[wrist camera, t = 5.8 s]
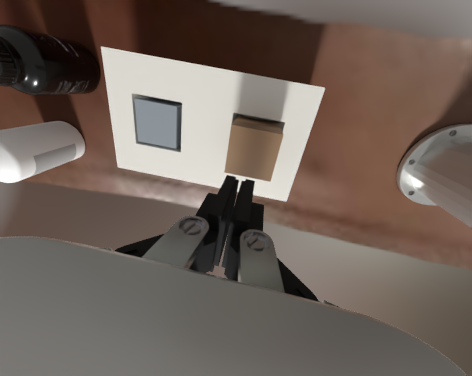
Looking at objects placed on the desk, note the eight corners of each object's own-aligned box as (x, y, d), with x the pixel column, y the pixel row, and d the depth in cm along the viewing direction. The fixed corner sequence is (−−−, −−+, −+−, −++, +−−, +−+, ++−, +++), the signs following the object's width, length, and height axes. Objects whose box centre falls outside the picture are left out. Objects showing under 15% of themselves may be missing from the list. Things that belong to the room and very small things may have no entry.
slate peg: (194, 102, 28) (176, 106, 22) (192, 136, 30) (176, 148, 25) (160, 96, 28) (134, 98, 22) (161, 130, 30) (137, 141, 25)
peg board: (308, 87, 27) (325, 87, 20) (281, 177, 34) (286, 201, 26) (142, 56, 28) (100, 46, 21) (147, 150, 34) (117, 167, 27)
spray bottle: (52, 150, 37) (-107, 199, 21) (46, 114, 33) (-147, 139, 18) (87, 162, 37) (-44, 219, 21) (85, 127, 34) (-72, 164, 18)
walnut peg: (278, 123, 24) (283, 134, 18) (268, 161, 26) (270, 181, 21) (238, 115, 24) (231, 124, 18) (232, 153, 26) (224, 172, 21)
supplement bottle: (94, 41, 27) (-12, 12, 17) (107, 94, 31) (25, 98, 20) (50, 39, 28) (-78, 11, 18) (67, 92, 31) (-33, 95, 21)
